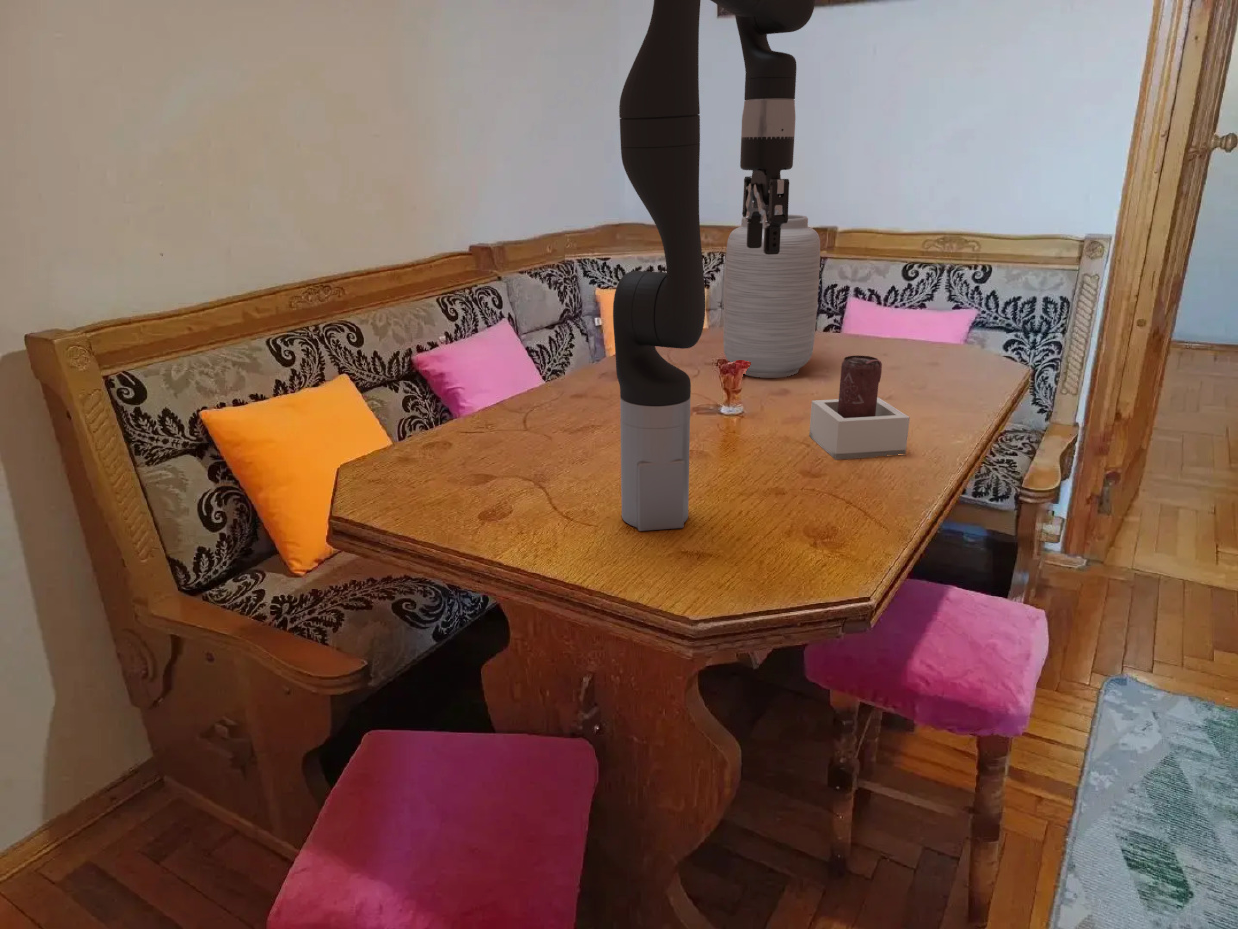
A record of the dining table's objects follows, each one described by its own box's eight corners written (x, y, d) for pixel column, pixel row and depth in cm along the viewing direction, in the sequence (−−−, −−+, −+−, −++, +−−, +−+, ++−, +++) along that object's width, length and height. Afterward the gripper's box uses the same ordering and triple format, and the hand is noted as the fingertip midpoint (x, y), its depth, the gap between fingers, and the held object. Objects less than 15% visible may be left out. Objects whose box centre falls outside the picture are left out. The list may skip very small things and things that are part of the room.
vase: (743, 385, 180) (750, 221, 168) (708, 363, 198) (712, 214, 186) (828, 377, 185) (841, 218, 173) (787, 356, 203) (796, 211, 191)
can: (876, 446, 140) (884, 363, 135) (836, 444, 141) (843, 362, 136) (872, 434, 145) (880, 354, 140) (834, 433, 146) (841, 353, 141)
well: (905, 455, 138) (909, 417, 136) (835, 459, 137) (838, 421, 135) (874, 432, 150) (877, 396, 147) (809, 436, 148) (811, 400, 146)
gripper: (810, 133, 114) (803, 255, 120) (777, 135, 128) (771, 245, 133) (757, 134, 113) (751, 257, 119) (728, 135, 127) (725, 246, 132)
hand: (762, 250), depth 126 cm, fingers open, 8 cm apart
